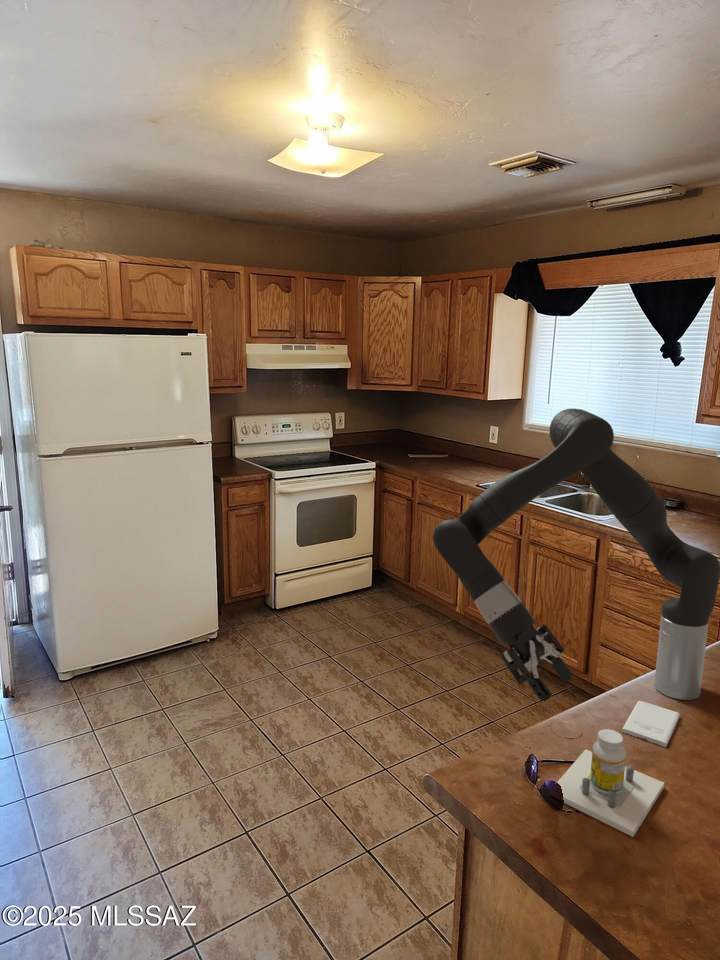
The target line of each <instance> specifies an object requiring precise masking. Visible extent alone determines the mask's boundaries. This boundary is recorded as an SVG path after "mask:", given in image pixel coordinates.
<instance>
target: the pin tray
mask: <svg viewBox="0 0 720 960" xmlns="http://www.w3.org/2000/svg"><path fill="white" fill-rule="evenodd" d="M591 762H592V750H588V749H584V750H583V752H582V753H580V755H579V756H578V758H577V759H576V760H575V761H574V762H572V765H570V767H569V768H568V769H567V770H566V771H565V772H564V773H563V775H562V776H561V777H560V778H559V779H558V780H557V782H556V783H558V784H559V785H560V786H561V789H562V793H563V800H564V804H566V805H568V806H569V807H572V808H574V809H576V810H578V811H579V812H581V813H584V814H586V815H588V816H589V817H592V818H593V819H596V820H597V821H600V822H602V823H604V824H606V825H608V826H610V827H612V828H614V829H616V830H618V831H620V832H622V833H624V834H626V835H629V836H630V837H632V838H634V837H635V835H636V833H638V830H639V828H640V827H641V826H642V824H643V822H644V821H645V819H646V817H647V816H648V814H649V813H650V811H651V809H652V807H653V806H654V804H655V803H656V801H657V800H658V798H659V796H660V795H661V793H662V791H663V790H664V788H665V782H664V781H661V780H659V779H657V778H655V777H652V776H649V775H647V774H645V773H642V772H640V771H638V770H635V767H633V766H632V765H625V772H624V785H623V790H622V791H621V792H620V793H619V794H617V795H616V792H615V791H614V790H609V792H608V795H606V794H603V793H601V792H599V791H597V790H596V789H595V788H594V787H593V786H592V784H591V782H590V775H591Z"/></svg>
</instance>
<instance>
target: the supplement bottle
mask: <svg viewBox="0 0 720 960" xmlns="http://www.w3.org/2000/svg"><path fill="white" fill-rule="evenodd" d="M596 739H597V741H595V742H594V743H593V745H592V750H591V752H592V762H591V775H590V782H591V784H592V786H593V787H594V788H595V789H596V790H597V791H599V792H601V793H603V794H606V795H608V792H609V790H614V791H615V792H616V795H617V794H619V793H620V792H621V791H622V790H623V785H624V772H625V766H626V760H627V752H626V750H625V747H624V746H623V745H624V737H623V736H622V734H620V732H619V731H615V730H613V729H609V728H606V729H605V728H604V729H600V730H599V731H598V732H597V738H596Z"/></svg>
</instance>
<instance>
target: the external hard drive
mask: <svg viewBox="0 0 720 960" xmlns="http://www.w3.org/2000/svg"><path fill="white" fill-rule="evenodd" d="M680 717H681V714H680V713H679V712H678V711H674V710H671V709H668V708H665V707H663V706H659V705H656V704H653V703H648V702H646V701H643V700H638V701H637V703H636V704H635V706H634V707H633V709H632V712H630V715H629V717H628V718H627V720H626V722H625V723H624V724H623V726H622V729H621V733H623V732H624V733H623V734H626V733H627V734H626V735H628V734H629V736H631V735H632V737H634V736H635V738H637V737H639V738H638V739H642V740H645V739H646V741H647V742H649V743H653V744H654V743H655V745H657V744H658V746H661V747H663V748H667V746H668V744H669V742H670V739H671V738H672V735H673V733H674V731H675V728H676V727H677V723H678V722H679V720H680Z"/></svg>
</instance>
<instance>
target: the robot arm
mask: <svg viewBox="0 0 720 960" xmlns="http://www.w3.org/2000/svg"><path fill="white" fill-rule="evenodd" d="M549 437H550V441H551V443H552V445H553V447H554V449H553V450H552V451H551V452H549V453H548V454H547V455H545V456H544V457H542V458H541V459H539V460H537V461H535V462H533V463H532V464H530V465H527V466H525V467H523V468H520V469H518V470H516V471H514V472H511V473H509V474H507V475H505V476H502V478H500V479H498V480H497V481H495V482H493V484H491V485H490V486H489V487H488V488H487V489H485V490H484V491H482V492H481V493H480V494H479V495H477V496H476V497H475V498H474V499H473V500H472V501H471V502H470V504H469V506H468V508H466V510H464V512H463V513H461V514H460V515H459V516H457V517H456V518H455V519H445V520H443V521H441V522H440V523H438V524H437V526H436V527H435V528H434V531H433V535H432V541H433V545H434V547H435V549H436V550H437V552H438V553H439V554H440V556H441V557H442V558H443V560H444V561H445V562H446V563H447V565H448V566H449V567H450V568H451V570H452V571H453V572H454V573H455V574H456V575H457V577H458V579H459V581H460V582H461V584H462V586H463V588H464V589H465V591H466V592H467V593H468V595H469V596H470V597H471V599H472V600H473V603H474V604H475V606H476V608H477V609H478V612H479V613H480V615H481V616H482V617H483V619H484V620H485V622H486V623H487V625H488V626H489V627H490V629H491V631H492V632H493V633H494V636H496V638H497V639H498V640H499V642H500V643H501V644H503V645H504V644H507V645H508V647H509V648H508V649H507V650H505V651H504V652H502V653H501V654H500V657H501V659H502V660H503V662H504V663H505V665H506V666H507V668H508V670H509V672H511V674H512V676H513V678H514V679H515V681H516V682H517V683H518V684H519V685H523V684H528V685H529V686H530V688H531V689H532V691H533V693H535V695H536V696H537V698H539V700H541V702H546V701H548V700H550V699H551V698H552V697H553V694H552V693H553V692H551V691H550V689H549V688H548V686H547V685H546V684H545V682H544V681H543V679H542V678H541V676H539V673H538V668H537V667H538V665H539V664H538V660H545V661H547V662H548V663H550V664H551V668H553V670H554V672H555V673H556V674H557V675H558V677H559V679H560V680H561V681H562V682H563V683H567V682H569V681H570V680H572V679H573V677H574V675H573V673H572V671H571V670H570V668H569V666H568V665H567V664H566V662H565V661H564V660H563V654H562V653H563V652H565V648H564V647H563V645H562V643H560V641H559V640H558V639H557V638H556V636H555V634H553V632H552V631H551V630H550V629H549V627H548V626H547V625H546V624H544V623H543V624H542V625H540V626H538V627H537V628H535V627H534V626H533V625H534V624H535V623H536V620H535V618H534V617H533V615H532V614H531V613H530V611H529V609H528V608H527V606H525V604H524V603H523V601H522V600H521V599H520V597H519V595H518V594H517V593H516V592H515V590H514V589H513V588H512V587H511V586H510V585H509V584H508V582H507V581H506V580H505V579H504V577H503V576H502V575H501V573H500V572H499V571H498V569H497V567H495V565H494V564H493V563H492V562H491V561H490V560H489V558H488V557H486V555H485V553H483V551H482V549H481V547H480V546H479V544H481V543H482V541H483V540H484V539H486V538H487V537H488V536H489V535H490V533H492V532H493V531H494V530H495V529H497V528H498V527H499V526H501V525H502V524H504V523H505V522H506V521H507V520H509V519H510V518H511V517H513V515H515V514H516V513H518V511H520V510H521V509H522V508H524V507H525V506H527V505H528V504H529V503H531V502H532V501H533V500H535V499H536V498H538V497H539V496H541V495H542V494H544V493H546V492H547V491H549V490H550V489H552V488H554V487H555V486H557V485H559V484H560V483H562V482H563V481H565V480H567V479H568V478H571V477H573V475H575V474H577V473H579V472H580V473H582V475H583V476H584V477H585V478H586V480H587V481H588V483H589V484H590V486H591V487H592V488H593V490H594V491H595V493H596V494H597V495H598V496H599V498H600V500H602V502H603V503H604V504H605V506H606V507H607V508H608V510H609V511H610V512H611V514H612V515H613V517H615V518H616V519H617V521H618V522H619V523H620V525H622V526H623V527H624V528H625V530H626V531H627V532H628V533H629V534H630V535H631V537H632V538H633V539H634V540H635V541H636V542H637V543H638V544H639V545H640V546H641V547H642V549H643V550H644V552H645V554H646V555H647V556H648V558H649V560H650V561H651V563H652V565H653V566H654V568H655V569H656V571H657V572H658V573H659V575H660V576H661V577H662V578H663V579H664V580H665V581H667V582H668V583H670V584H673V585H674V586H676V587H678V588H680V589H681V590H680V593H679V597H673V598H668V599H665V600H664V602H662V604H661V613H660V625H659V634H658V644H657V645H658V646H657V656H656V662H655V663H656V666H655V674H654V683H653V685H654V688H655V689H656V690H657V691H658V692H659V693H661V694H662V695H664V696H667V697H669V698H672V699H676V700H681V701H682V700H683V701H693V700H696V699H699V698H700V696H701V692H702V691H701V690H702V680H703V675H704V674H703V673H704V667H705V666H704V665H705V655H706V649H707V648H706V647H707V639H708V630H709V620H710V616H711V614H712V612H713V610H714V608H715V605H716V600H717V599H716V598H717V593H718V587H719V583H720V561H719V560H718V559H719V558H717V556H716V555H714V554H713V553H711V552H709V551H707V550H704V549H701V548H698V547H696V546H693V545H691V544H688V543H686V542H685V541H683V540H681V539H680V538H679V537H678V536H677V534H676V533H674V531H673V530H672V529H671V527H669V525H668V523H667V522H668V521H667V519H668V515H667V508H666V505H665V502H664V501H663V499H662V498H661V497H660V495H659V493H657V491H656V489H654V488H653V487H652V485H651V484H650V482H648V480H646V479H645V478H644V477H643V476H642V475H641V473H639V472H637V470H635V469H634V468H633V467H632V466H631V465H630V464H628V463H627V462H626V461H624V460H623V459H622V458H621V457H619V455H617V454H616V453H615V452H614V451H613V450H612V449H611V447H612V445H613V443H614V439H615V433H614V429H613V427H612V425H611V424H610V423H609V422H608V421H607V420H606V419H604V418H602V417H600V416H598V415H596V414H593V413H591V412H590V411H587V410H585V409H580V408H566V409H563V410H561V411H559V412H557V413H556V414H555V415H554V416H553V417H552V420H551V422H550V426H549ZM553 645H554V646H553ZM554 647H555V648H554ZM518 669H519V671H520V672H521V673H520V672H519V671H518Z"/></svg>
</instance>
